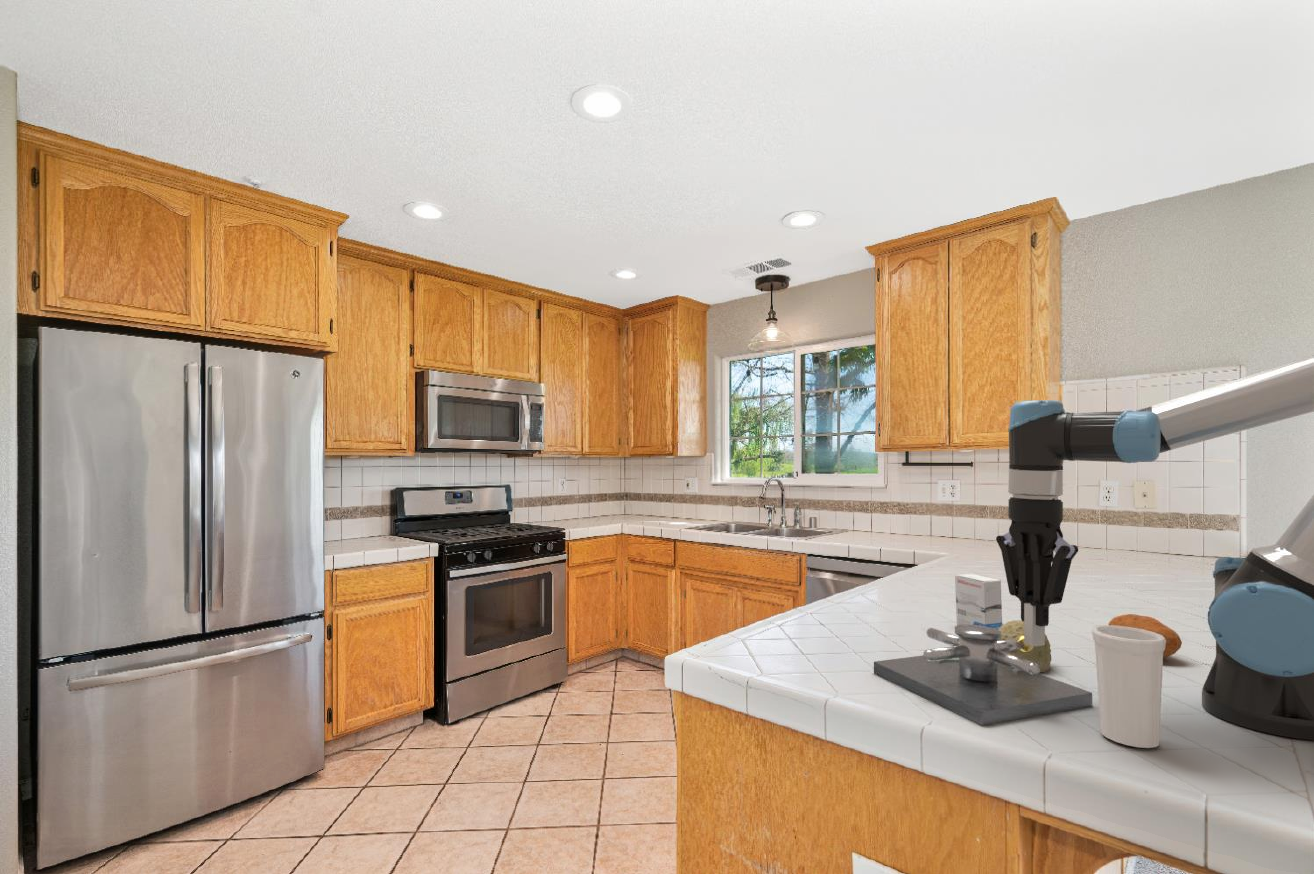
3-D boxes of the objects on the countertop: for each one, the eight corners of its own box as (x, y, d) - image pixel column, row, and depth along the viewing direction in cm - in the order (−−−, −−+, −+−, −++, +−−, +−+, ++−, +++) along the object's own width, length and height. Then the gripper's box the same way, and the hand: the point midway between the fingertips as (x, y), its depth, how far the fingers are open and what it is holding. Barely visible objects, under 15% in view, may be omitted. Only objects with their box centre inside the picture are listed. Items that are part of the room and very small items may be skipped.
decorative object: (1044, 695, 111) (1076, 647, 111) (992, 659, 113) (1023, 613, 113) (1021, 682, 120) (1050, 638, 120) (973, 649, 122) (1002, 606, 122)
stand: (1092, 705, 97) (1092, 690, 97) (982, 725, 89) (982, 709, 90) (968, 659, 119) (968, 647, 119) (872, 672, 111) (872, 659, 111)
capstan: (1094, 689, 97) (1093, 641, 98) (982, 708, 90) (981, 656, 90) (977, 649, 118) (977, 609, 118) (878, 661, 110) (878, 619, 110)
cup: (1078, 728, 89) (1077, 625, 89) (1133, 726, 90) (1131, 624, 90) (1125, 755, 81) (1123, 641, 81) (1184, 753, 81) (1182, 641, 82)
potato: (1133, 646, 129) (1133, 608, 129) (1194, 663, 118) (1193, 622, 118) (1098, 649, 126) (1098, 611, 126) (1157, 667, 115) (1156, 626, 115)
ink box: (1003, 635, 136) (1003, 580, 136) (984, 637, 134) (984, 581, 134) (972, 625, 144) (972, 572, 144) (954, 626, 142) (954, 574, 143)
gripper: (1091, 499, 97) (1091, 654, 97) (1017, 493, 110) (1016, 631, 109) (1056, 500, 95) (1055, 659, 94) (983, 494, 107) (982, 635, 107)
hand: (1034, 644), depth 102 cm, fingers closed
